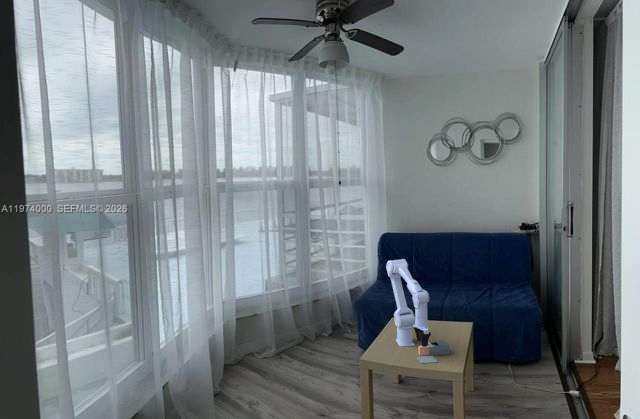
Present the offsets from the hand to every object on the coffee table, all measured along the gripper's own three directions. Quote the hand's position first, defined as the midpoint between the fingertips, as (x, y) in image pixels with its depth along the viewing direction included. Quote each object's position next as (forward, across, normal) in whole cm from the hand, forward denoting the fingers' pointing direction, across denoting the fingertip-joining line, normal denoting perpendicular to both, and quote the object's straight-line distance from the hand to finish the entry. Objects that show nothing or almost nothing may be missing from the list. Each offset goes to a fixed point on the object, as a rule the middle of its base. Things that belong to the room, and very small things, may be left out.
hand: (422, 343), depth 208 cm
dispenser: (+5, 0, +7) cm, 9 cm away
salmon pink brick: (+6, 0, +2) cm, 6 cm away
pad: (+5, +7, 0) cm, 9 cm away
